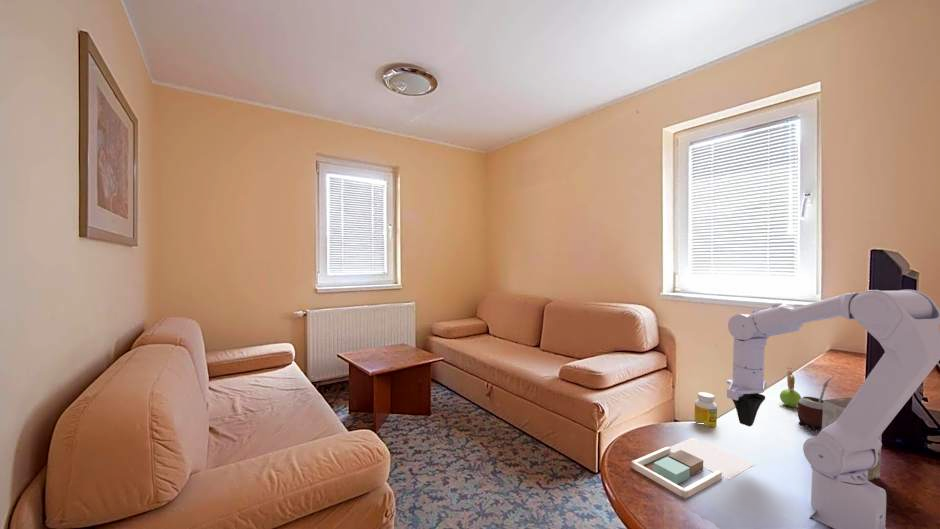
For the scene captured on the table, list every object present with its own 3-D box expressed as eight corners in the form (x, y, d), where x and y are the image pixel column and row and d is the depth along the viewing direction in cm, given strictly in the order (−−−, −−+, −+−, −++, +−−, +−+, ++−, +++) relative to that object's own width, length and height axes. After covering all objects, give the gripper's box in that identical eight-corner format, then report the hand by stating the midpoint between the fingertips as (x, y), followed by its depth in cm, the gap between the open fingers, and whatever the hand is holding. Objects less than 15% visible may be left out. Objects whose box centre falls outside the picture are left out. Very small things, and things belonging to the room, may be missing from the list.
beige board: (755, 470, 84) (755, 464, 84) (728, 486, 78) (728, 479, 78) (692, 442, 96) (692, 437, 96) (664, 455, 90) (664, 448, 90)
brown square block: (703, 473, 82) (703, 460, 82) (690, 480, 79) (690, 466, 79) (680, 462, 86) (680, 449, 86) (667, 468, 83) (668, 455, 83)
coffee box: (853, 484, 79) (856, 410, 79) (818, 468, 86) (821, 399, 85) (881, 478, 82) (885, 406, 81) (845, 462, 88) (848, 395, 88)
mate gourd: (796, 427, 106) (798, 375, 106) (797, 418, 112) (799, 369, 112) (833, 436, 101) (835, 382, 101) (831, 426, 107) (833, 375, 107)
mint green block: (689, 481, 79) (689, 467, 79) (675, 488, 76) (676, 474, 76) (666, 469, 83) (667, 456, 83) (653, 476, 80) (653, 462, 80)
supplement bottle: (699, 422, 109) (700, 389, 108) (719, 429, 104) (721, 395, 104) (690, 426, 106) (691, 393, 105) (710, 434, 101) (712, 399, 101)
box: (721, 485, 79) (721, 472, 79) (685, 506, 72) (685, 491, 72) (666, 457, 89) (667, 446, 89) (630, 473, 82) (631, 461, 82)
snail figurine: (798, 404, 123) (800, 368, 123) (803, 411, 118) (804, 373, 117) (777, 400, 126) (779, 365, 126) (781, 407, 121) (782, 370, 120)
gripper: (743, 357, 92) (741, 411, 93) (713, 365, 85) (711, 424, 85) (778, 365, 86) (775, 422, 87) (748, 374, 79) (746, 437, 79)
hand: (746, 424), depth 86 cm, fingers closed
